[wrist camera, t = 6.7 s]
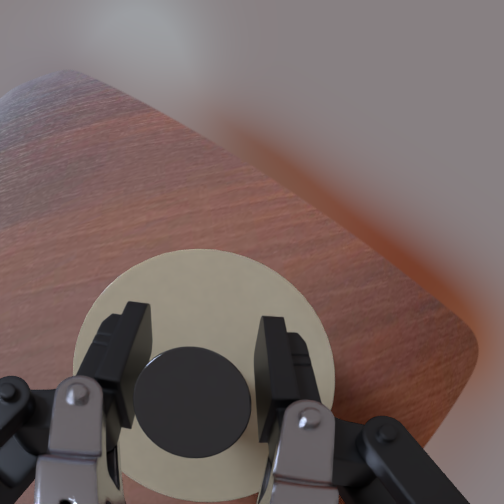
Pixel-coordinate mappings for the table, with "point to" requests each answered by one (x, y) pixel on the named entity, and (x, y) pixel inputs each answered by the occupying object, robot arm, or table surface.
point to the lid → (203, 369)
